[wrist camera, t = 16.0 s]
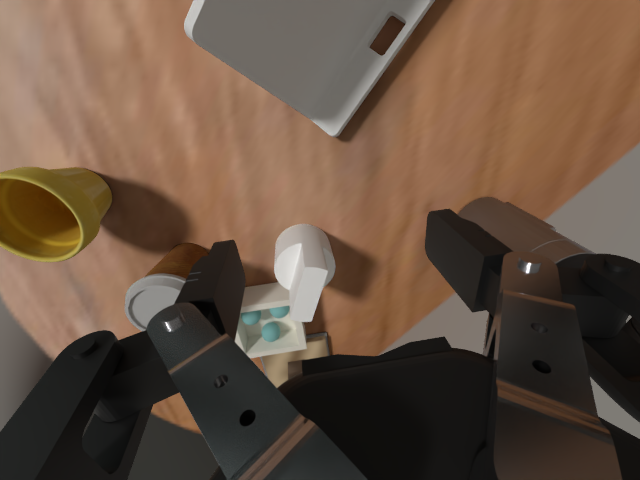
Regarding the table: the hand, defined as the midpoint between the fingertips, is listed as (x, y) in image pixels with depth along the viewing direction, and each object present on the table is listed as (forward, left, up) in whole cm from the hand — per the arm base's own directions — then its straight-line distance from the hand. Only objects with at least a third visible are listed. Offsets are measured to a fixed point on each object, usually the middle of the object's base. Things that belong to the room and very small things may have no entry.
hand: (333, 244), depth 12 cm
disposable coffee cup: (+20, +17, -30) cm, 40 cm away
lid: (+7, +45, -30) cm, 54 cm away
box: (+10, +30, -30) cm, 44 cm away
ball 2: (+10, +33, -27) cm, 44 cm away
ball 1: (+12, +28, -27) cm, 41 cm away
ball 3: (+8, +28, -27) cm, 40 cm away
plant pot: (+30, +4, -30) cm, 43 cm away
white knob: (+2, +18, -30) cm, 35 cm away
